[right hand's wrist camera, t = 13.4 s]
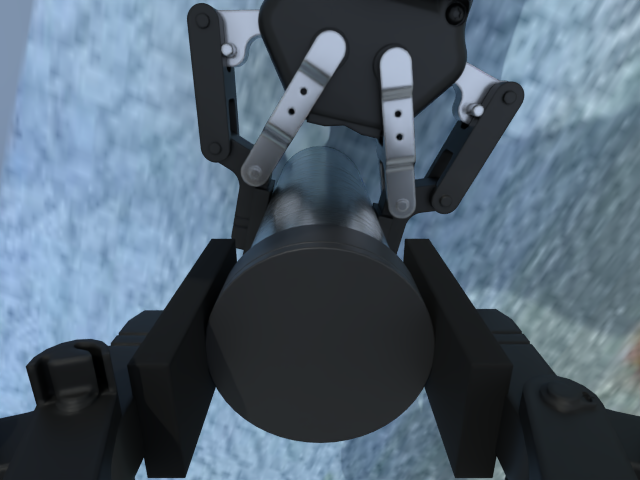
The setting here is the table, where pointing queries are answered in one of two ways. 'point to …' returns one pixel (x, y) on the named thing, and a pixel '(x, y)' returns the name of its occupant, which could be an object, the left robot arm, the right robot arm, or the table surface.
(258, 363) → the lid
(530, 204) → the table surface
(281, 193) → the cylinder
